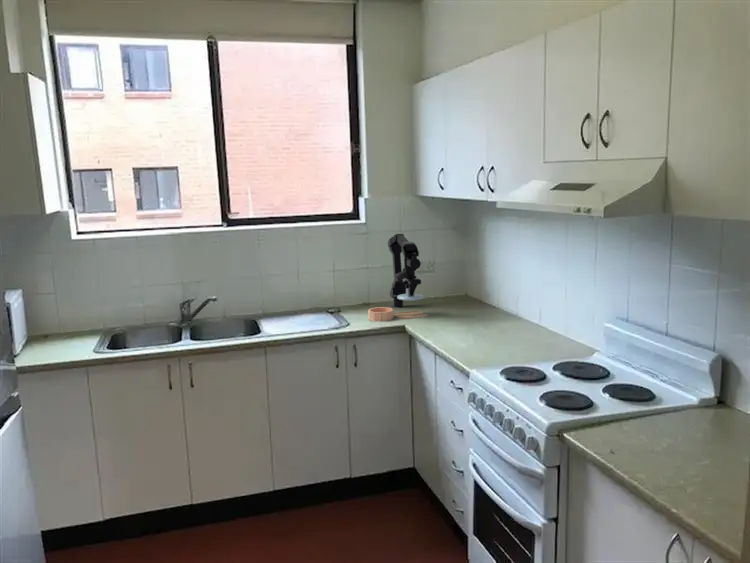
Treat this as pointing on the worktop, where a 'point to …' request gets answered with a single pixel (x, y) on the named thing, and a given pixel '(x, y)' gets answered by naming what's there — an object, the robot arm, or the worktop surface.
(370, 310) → the bowl
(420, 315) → the board
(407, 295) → the lid
